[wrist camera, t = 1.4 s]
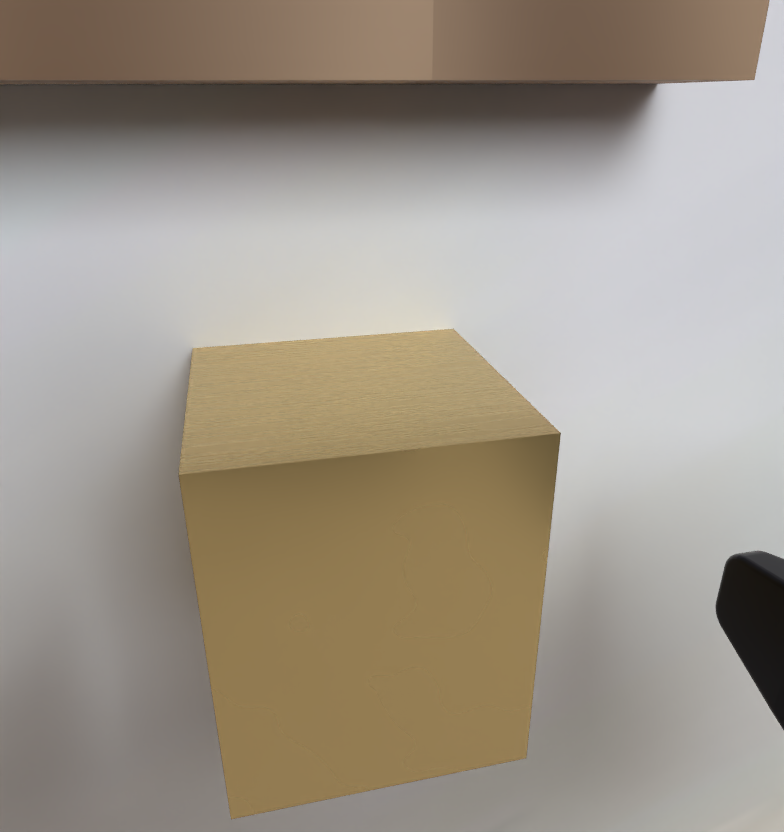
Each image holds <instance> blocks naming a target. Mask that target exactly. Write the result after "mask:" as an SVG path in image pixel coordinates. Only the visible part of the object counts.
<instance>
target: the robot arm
mask: <svg viewBox="0 0 784 832" xmlns="http://www.w3.org/2000/svg"><path fill="white" fill-rule="evenodd" d="M716 614H717V618H718V621H719V623H720V625H721V627H722V629H723V630H724V632H725V634H726V635H727V637H728V639H729V640H730V642H731V644H732V645H733V647H734V649H735V650H736V652H737V654H738V655H739V657H740V659H741V661H742V662H743V664H744V666H745V667H746V669H747V671H748V672H749V674H750V676H751V677H752V679H753V681H754V682H755V684H756V686H757V687H758V689H759V691H760V692H761V694H762V696H763V697H764V699H765V701H766V702H767V704H768V706H769V707H770V709H771V711H772V712H773V714H774V716H775V717H776V719H777V720H778V722H779V723H780V725H781V727H782V728H783V730H784V559H782V558H780V557H777V556H774V555H772V554H769V553H767V552H763V551H752V552H746V553H739V554H734V555H732V556H730V558H729V559H728V560H727V561H726V564H725V567H724V571H723V575H722V580H721V584H720V588H719V592H718V597H717V601H716Z"/></svg>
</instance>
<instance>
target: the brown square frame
mask: <svg viewBox="0 0 784 832" xmlns="http://www.w3.org/2000/svg"><path fill="white" fill-rule="evenodd" d="M768 6H769V0H0V84H661V83H687V82H713V81H739V80H754V79H755V73H756V68H757V63H758V58H759V53H760V47H761V42H762V37H763V32H764V26H765V21H766V16H767V11H768Z"/></svg>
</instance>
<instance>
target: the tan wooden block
mask: <svg viewBox="0 0 784 832" xmlns="http://www.w3.org/2000/svg"><path fill="white" fill-rule="evenodd" d="M560 435H561V433H560V432H559V431H558V430H557V429H556V428H555V427H554V426H553V425H552V424H551V423H550V422H549V421H548V420H547V419H546V418H545V417H544V416H543V415H542V414H541V413H539V412H538V411H537V410H536V409H535V408H534V407H533V406H532V405H531V404H530V403H529V402H528V401H527V400H526V399H525V398H524V397H523V396H522V395H521V394H520V393H519V392H518V391H517V390H516V389H515V388H514V387H513V386H512V385H511V384H510V383H509V382H508V381H507V380H506V379H505V378H504V377H502V376H501V375H500V374H499V373H498V372H497V371H496V370H495V369H494V368H493V367H492V366H491V365H490V364H489V363H488V362H487V361H486V360H485V359H484V358H483V357H482V356H481V355H480V354H479V353H478V352H477V351H476V350H475V349H474V348H473V347H472V346H471V345H470V344H469V343H468V342H466V341H465V340H464V339H463V338H462V337H461V336H460V335H459V334H458V333H457V332H456V331H455V330H454V329H445V330H432V331H418V332H405V333H391V334H378V335H365V336H351V337H338V338H324V339H311V340H297V341H284V342H271V343H257V344H244V345H230V346H217V347H203V348H193V351H192V359H191V368H190V377H189V386H188V395H187V404H186V413H185V422H184V431H183V440H182V449H181V458H180V467H179V481H180V487H181V494H182V500H183V507H184V514H185V520H186V527H187V533H188V540H189V546H190V553H191V560H192V566H193V573H194V579H195V586H196V592H197V599H198V606H199V612H200V619H201V625H202V632H203V638H204V645H205V652H206V658H207V665H208V671H209V678H210V684H211V691H212V697H213V704H214V711H215V717H216V724H217V730H218V737H219V743H220V750H221V757H222V763H223V770H224V776H225V783H226V789H227V796H228V803H229V809H230V816H231V819H235V818H240V817H245V816H249V815H254V814H259V813H264V812H269V811H274V810H278V809H283V808H288V807H293V806H298V805H303V804H307V803H312V802H317V801H322V800H327V799H331V798H336V797H341V796H346V795H351V794H356V793H360V792H365V791H370V790H375V789H380V788H385V787H389V786H394V785H399V784H404V783H409V782H413V781H418V780H423V779H428V778H433V777H438V776H442V775H447V774H452V773H457V772H462V771H467V770H471V769H476V768H481V767H486V766H491V765H495V764H500V763H505V762H510V761H515V760H520V759H524V758H526V755H527V746H528V736H529V727H530V718H531V708H532V699H533V689H534V680H535V671H536V661H537V652H538V642H539V633H540V623H541V614H542V605H543V595H544V586H545V576H546V567H547V557H548V548H549V539H550V529H551V520H552V510H553V501H554V492H555V482H556V473H557V463H558V454H559V444H560Z"/></svg>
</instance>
